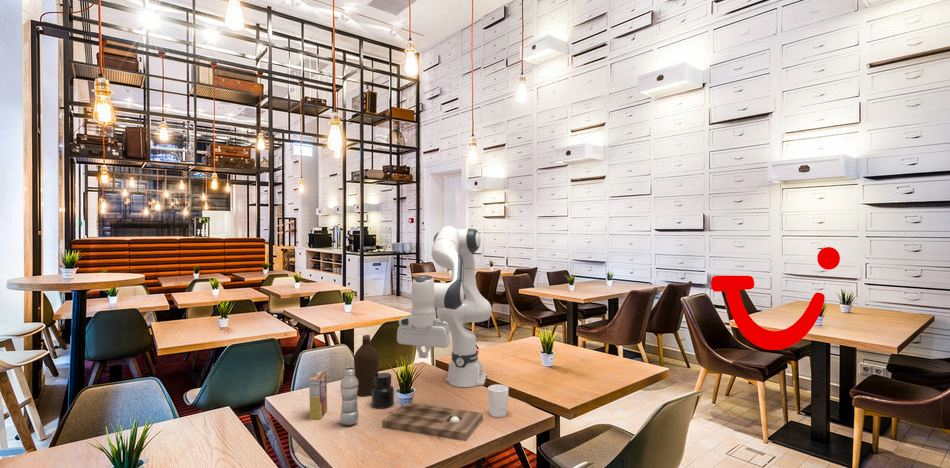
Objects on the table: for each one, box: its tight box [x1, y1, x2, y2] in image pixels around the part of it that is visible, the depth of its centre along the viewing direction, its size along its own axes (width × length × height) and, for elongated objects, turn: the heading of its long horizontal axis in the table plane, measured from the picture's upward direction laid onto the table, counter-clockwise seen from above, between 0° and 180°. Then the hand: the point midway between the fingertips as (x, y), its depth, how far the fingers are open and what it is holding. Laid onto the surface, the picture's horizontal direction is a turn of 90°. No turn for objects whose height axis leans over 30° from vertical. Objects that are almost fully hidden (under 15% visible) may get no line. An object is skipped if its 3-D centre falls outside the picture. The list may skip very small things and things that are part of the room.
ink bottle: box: [371, 372, 395, 409], centre depth 181 cm, size 10×9×12 cm
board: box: [381, 402, 484, 441], centre depth 163 cm, size 32×18×4 cm, turn 71°
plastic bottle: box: [339, 367, 360, 426], centre depth 163 cm, size 6×7×20 cm
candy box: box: [308, 371, 328, 421], centre depth 171 cm, size 9×4×15 cm, turn 2°
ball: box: [450, 416, 460, 423], centre depth 160 cm, size 4×4×4 cm
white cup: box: [487, 384, 509, 418], centre depth 172 cm, size 8×8×10 cm
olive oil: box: [353, 334, 380, 397], centre depth 195 cm, size 11×11×25 cm
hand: (423, 357), depth 165 cm, fingers closed
